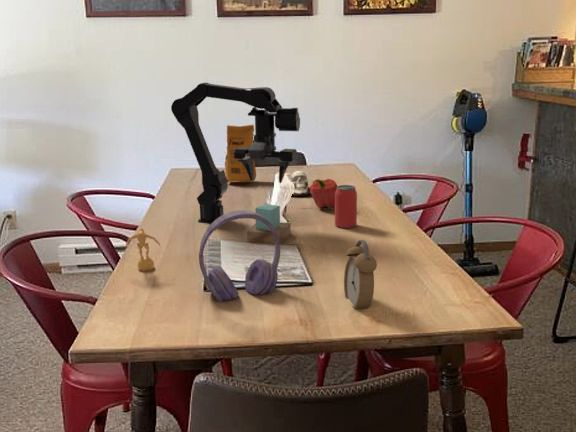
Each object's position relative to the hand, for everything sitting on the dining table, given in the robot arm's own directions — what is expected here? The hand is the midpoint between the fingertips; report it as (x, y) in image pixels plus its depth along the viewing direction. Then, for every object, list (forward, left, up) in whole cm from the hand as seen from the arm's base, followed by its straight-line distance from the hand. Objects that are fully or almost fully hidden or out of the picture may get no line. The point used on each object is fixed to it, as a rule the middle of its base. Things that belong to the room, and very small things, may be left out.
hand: (266, 181), depth 193 cm
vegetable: (+12, +23, -13) cm, 29 cm away
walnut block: (+6, -15, -14) cm, 21 cm away
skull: (+1, +41, -15) cm, 44 cm away
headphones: (+15, -56, -13) cm, 59 cm away
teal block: (+6, -15, -10) cm, 19 cm away
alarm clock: (+41, -53, -13) cm, 68 cm away
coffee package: (-31, +53, -13) cm, 63 cm away
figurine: (-14, -49, -13) cm, 52 cm away
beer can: (+24, +4, -13) cm, 28 cm away
